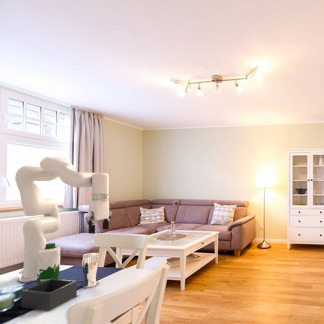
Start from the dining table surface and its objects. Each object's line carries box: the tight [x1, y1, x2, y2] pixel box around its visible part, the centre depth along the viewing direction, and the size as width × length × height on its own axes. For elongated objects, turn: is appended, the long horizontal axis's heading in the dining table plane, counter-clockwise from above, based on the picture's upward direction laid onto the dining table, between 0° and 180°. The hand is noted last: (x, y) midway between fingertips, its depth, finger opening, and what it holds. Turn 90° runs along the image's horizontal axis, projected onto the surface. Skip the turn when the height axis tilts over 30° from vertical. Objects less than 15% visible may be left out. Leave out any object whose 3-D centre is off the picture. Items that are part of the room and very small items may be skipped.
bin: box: [20, 279, 78, 311], centre depth 118 cm, size 14×14×7 cm
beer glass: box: [81, 252, 99, 288], centre depth 136 cm, size 7×7×15 cm
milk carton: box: [36, 242, 61, 285], centre depth 135 cm, size 9×9×20 cm
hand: (98, 231), depth 138 cm, fingers open, 9 cm apart
